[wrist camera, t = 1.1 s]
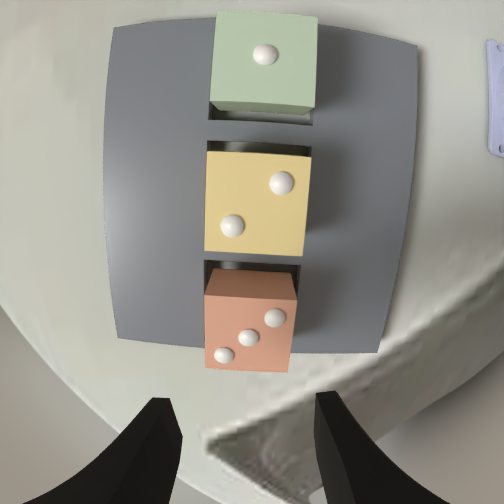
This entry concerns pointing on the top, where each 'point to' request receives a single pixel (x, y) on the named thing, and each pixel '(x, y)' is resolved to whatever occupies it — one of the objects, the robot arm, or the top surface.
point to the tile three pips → (249, 320)
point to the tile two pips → (256, 202)
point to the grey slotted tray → (206, 130)
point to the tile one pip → (264, 62)
